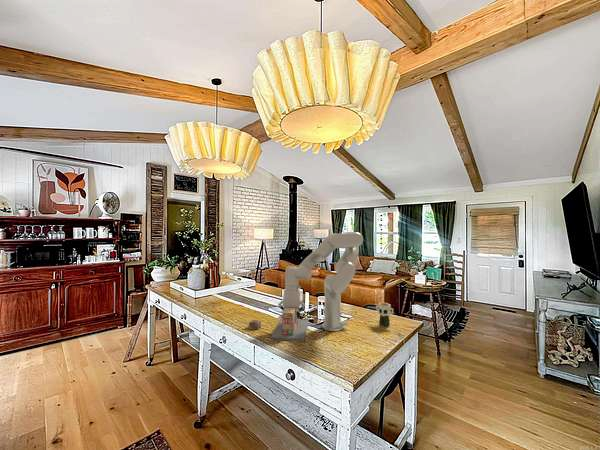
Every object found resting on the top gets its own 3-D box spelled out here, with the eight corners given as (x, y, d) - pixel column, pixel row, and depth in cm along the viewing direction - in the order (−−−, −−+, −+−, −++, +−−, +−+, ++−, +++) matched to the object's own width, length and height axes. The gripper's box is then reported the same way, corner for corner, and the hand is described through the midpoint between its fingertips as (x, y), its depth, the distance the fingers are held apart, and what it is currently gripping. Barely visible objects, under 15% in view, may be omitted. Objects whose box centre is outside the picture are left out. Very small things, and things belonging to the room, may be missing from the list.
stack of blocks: (289, 320, 166) (289, 301, 166) (299, 321, 165) (299, 301, 165) (282, 334, 145) (282, 312, 145) (293, 335, 144) (293, 312, 144)
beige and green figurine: (373, 324, 163) (373, 303, 163) (377, 321, 169) (377, 301, 169) (391, 329, 157) (391, 307, 157) (395, 325, 162) (395, 304, 163)
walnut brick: (261, 327, 158) (261, 320, 158) (258, 329, 155) (258, 323, 155) (252, 326, 160) (252, 319, 160) (248, 328, 156) (249, 321, 156)
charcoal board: (308, 322, 167) (308, 320, 167) (304, 341, 139) (304, 338, 139) (280, 320, 169) (280, 318, 169) (271, 339, 141) (271, 337, 141)
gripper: (307, 286, 157) (306, 316, 157) (278, 285, 159) (278, 315, 159) (305, 289, 150) (305, 321, 150) (275, 288, 152) (275, 319, 151)
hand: (291, 317), depth 154 cm, fingers open, 7 cm apart
